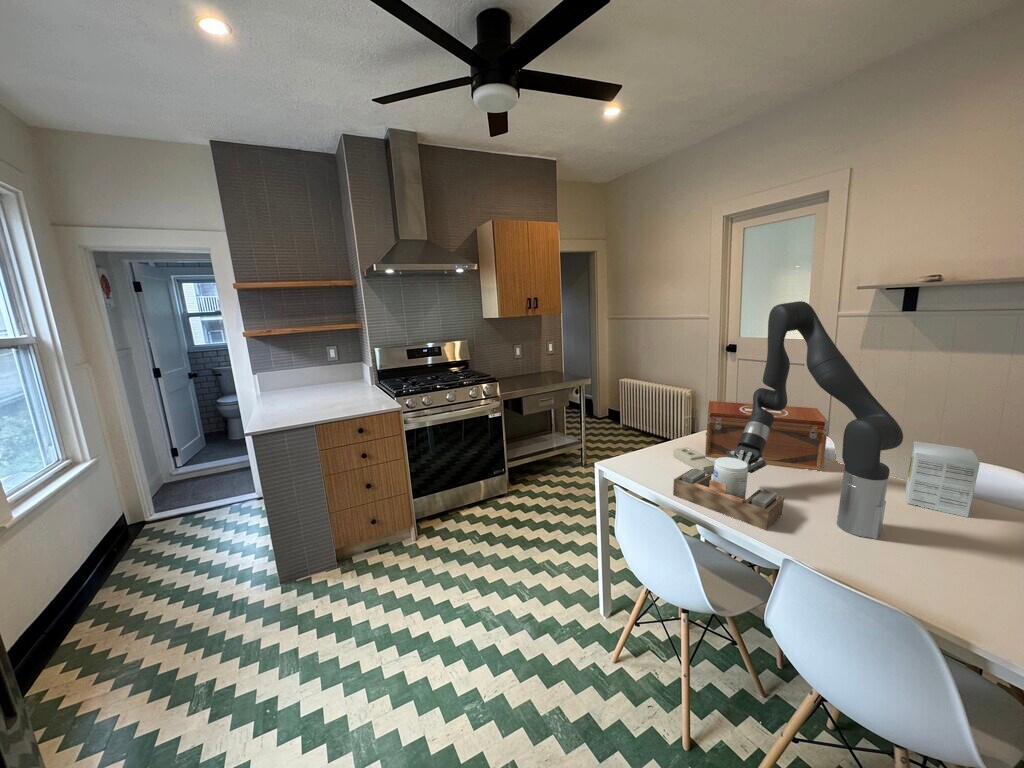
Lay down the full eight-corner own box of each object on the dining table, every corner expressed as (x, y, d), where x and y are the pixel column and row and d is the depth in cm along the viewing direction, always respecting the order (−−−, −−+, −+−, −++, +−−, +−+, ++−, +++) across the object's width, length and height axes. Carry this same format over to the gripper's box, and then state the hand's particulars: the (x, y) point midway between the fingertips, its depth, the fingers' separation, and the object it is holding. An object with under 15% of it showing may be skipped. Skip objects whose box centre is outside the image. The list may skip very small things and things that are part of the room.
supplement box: (904, 488, 132) (912, 440, 129) (962, 500, 123) (973, 448, 120) (905, 504, 123) (915, 452, 119) (969, 518, 114) (981, 462, 110)
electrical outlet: (703, 464, 149) (673, 448, 167) (703, 474, 150) (672, 457, 167) (719, 462, 151) (687, 446, 168) (718, 471, 152) (687, 455, 169)
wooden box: (823, 472, 147) (830, 422, 143) (704, 457, 166) (706, 412, 162) (812, 453, 164) (818, 408, 160) (705, 441, 183) (708, 400, 179)
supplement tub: (705, 500, 131) (707, 460, 128) (725, 494, 134) (727, 454, 131) (731, 514, 122) (734, 470, 119) (751, 507, 125) (755, 464, 122)
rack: (782, 514, 120) (785, 485, 118) (766, 530, 113) (769, 499, 111) (691, 483, 143) (692, 459, 141) (673, 495, 135) (674, 469, 133)
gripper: (731, 427, 139) (713, 469, 135) (773, 436, 129) (755, 482, 124) (736, 438, 144) (719, 478, 139) (777, 447, 133) (760, 491, 129)
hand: (736, 480), depth 132 cm, fingers closed
